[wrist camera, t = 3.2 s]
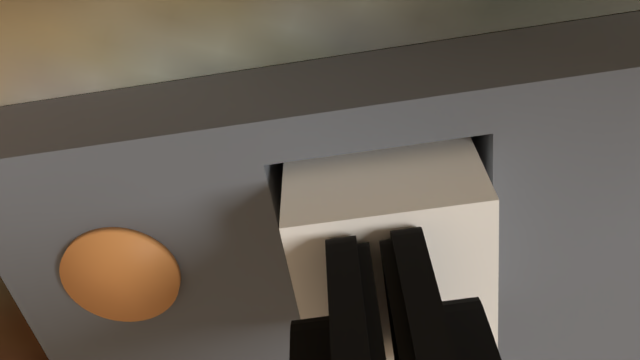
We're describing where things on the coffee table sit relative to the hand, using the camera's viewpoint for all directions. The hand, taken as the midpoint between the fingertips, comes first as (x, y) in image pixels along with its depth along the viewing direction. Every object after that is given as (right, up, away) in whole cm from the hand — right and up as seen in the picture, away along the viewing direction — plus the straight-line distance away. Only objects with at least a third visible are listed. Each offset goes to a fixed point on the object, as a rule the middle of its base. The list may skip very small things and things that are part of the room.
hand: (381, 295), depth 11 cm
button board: (0, -3, +7) cm, 7 cm away
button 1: (0, +1, +2) cm, 3 cm away
